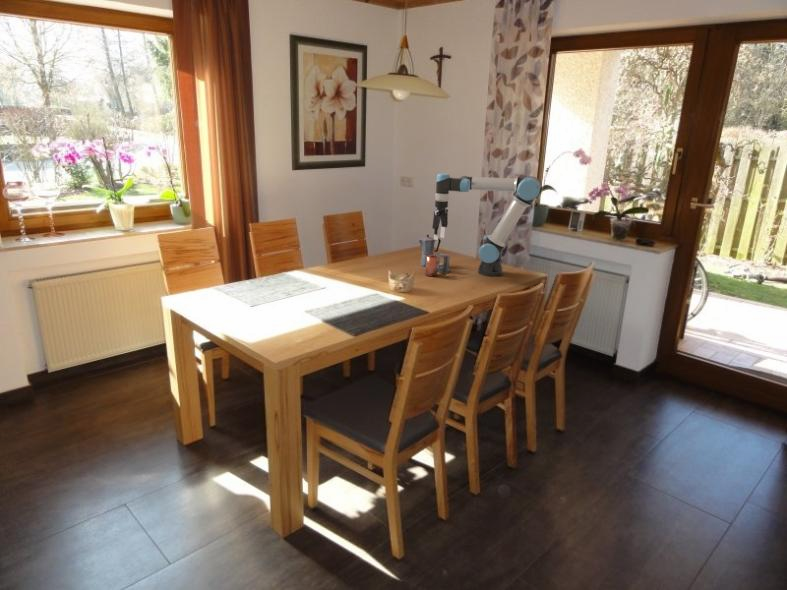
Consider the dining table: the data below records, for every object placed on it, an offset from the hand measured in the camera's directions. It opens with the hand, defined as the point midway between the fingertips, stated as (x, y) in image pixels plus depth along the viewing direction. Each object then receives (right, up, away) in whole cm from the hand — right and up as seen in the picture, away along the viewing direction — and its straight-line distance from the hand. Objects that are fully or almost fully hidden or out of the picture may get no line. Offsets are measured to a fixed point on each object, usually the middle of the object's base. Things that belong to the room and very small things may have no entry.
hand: (439, 238), depth 331 cm
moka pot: (-5, -15, +23) cm, 28 cm away
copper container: (-1, -20, +6) cm, 21 cm away
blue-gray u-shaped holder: (+2, -19, +11) cm, 22 cm away
